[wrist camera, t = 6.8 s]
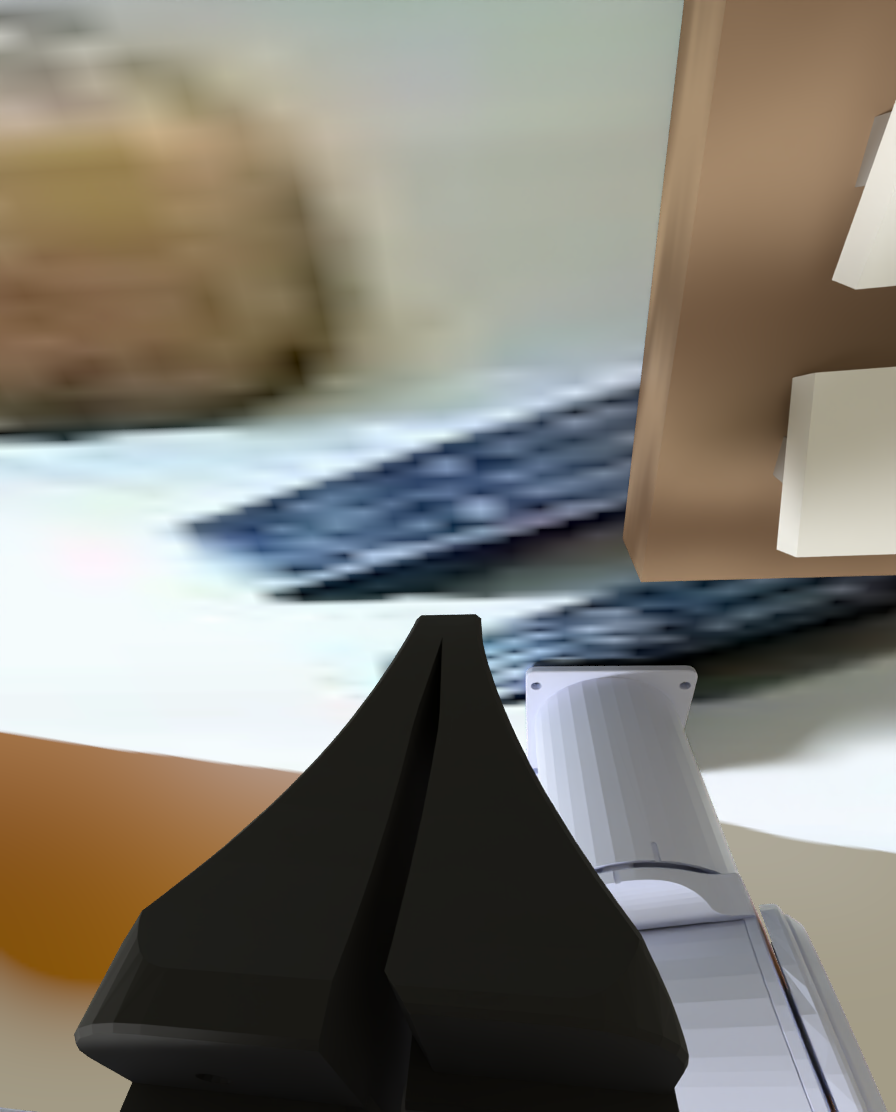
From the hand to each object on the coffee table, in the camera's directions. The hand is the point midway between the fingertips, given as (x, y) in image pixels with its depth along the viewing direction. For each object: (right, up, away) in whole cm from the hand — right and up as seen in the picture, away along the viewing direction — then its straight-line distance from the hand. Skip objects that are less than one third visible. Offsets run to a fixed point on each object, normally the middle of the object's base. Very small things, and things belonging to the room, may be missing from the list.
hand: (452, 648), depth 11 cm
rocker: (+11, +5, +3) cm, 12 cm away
